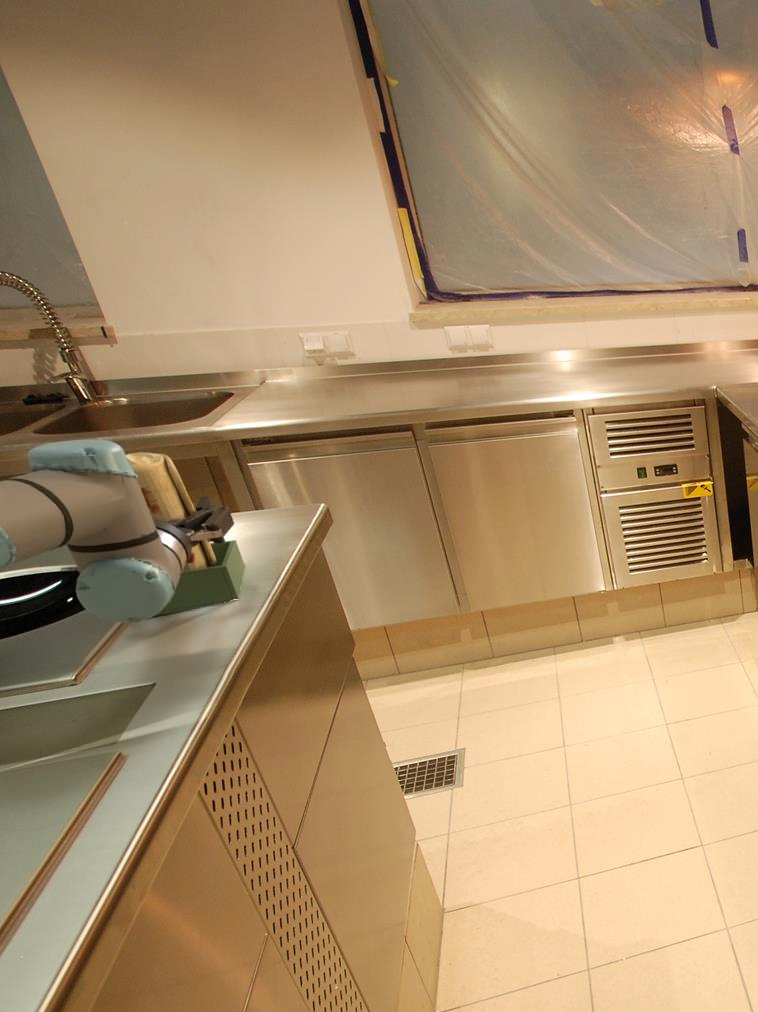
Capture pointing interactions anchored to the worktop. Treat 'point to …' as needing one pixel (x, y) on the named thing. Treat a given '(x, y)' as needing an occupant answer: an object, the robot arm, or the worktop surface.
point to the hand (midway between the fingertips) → (175, 509)
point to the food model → (168, 499)
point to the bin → (209, 581)
